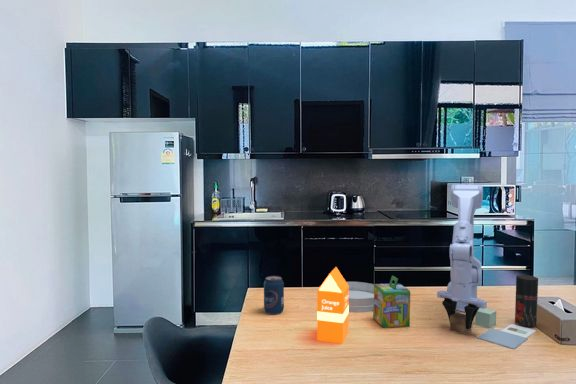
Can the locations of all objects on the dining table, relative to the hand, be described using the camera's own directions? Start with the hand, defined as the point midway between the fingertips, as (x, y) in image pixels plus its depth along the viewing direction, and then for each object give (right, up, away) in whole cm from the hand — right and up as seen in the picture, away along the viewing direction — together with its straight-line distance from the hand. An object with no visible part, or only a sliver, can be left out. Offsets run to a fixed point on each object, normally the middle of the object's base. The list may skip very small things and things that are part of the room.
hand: (460, 325), depth 124 cm
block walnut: (0, -1, 0) cm, 1 cm away
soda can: (-58, -1, +18) cm, 60 cm away
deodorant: (+22, -1, +5) cm, 23 cm away
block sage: (+10, -1, +5) cm, 11 cm away
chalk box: (-19, -1, +7) cm, 21 cm away
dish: (-28, -1, +28) cm, 39 cm away
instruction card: (+17, -1, -1) cm, 17 cm away
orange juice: (-39, -2, -3) cm, 39 cm away
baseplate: (+9, -2, -6) cm, 11 cm away
